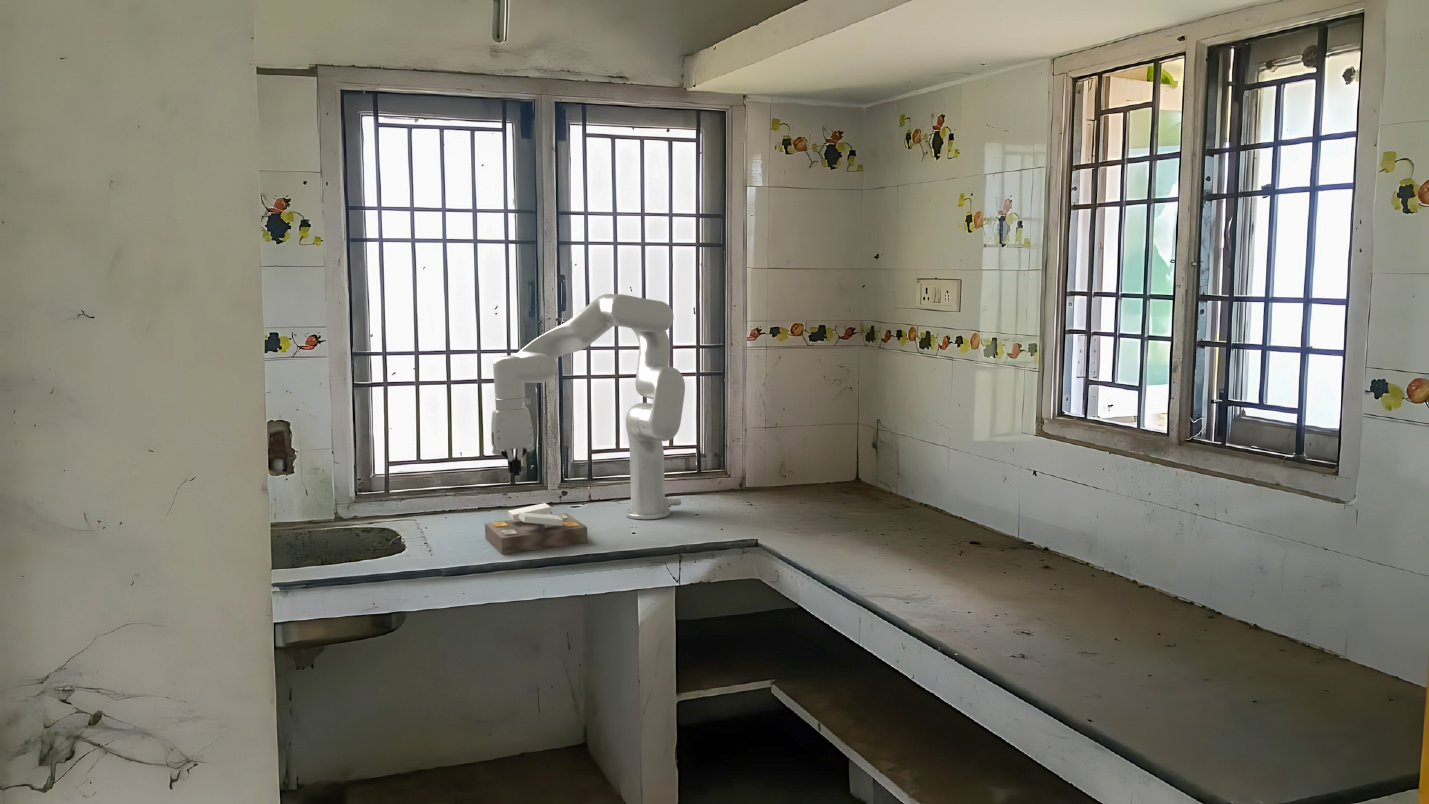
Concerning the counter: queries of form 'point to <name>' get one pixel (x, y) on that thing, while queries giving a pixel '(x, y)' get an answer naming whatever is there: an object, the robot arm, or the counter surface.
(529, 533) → the switch unit
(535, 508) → the rocker far
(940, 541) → the counter surface
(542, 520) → the rocker near
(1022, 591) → the counter surface
